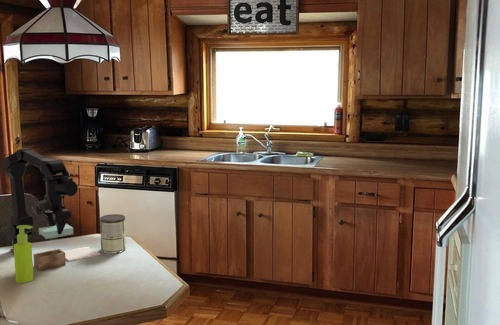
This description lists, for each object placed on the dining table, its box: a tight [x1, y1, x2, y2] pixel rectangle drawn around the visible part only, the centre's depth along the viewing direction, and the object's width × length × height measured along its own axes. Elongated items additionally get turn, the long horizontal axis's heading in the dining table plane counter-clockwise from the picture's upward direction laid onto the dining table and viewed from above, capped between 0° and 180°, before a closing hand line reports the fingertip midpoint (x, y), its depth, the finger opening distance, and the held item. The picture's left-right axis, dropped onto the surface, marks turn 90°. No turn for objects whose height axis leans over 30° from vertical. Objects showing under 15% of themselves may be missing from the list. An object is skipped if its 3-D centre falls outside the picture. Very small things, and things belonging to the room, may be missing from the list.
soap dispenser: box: [13, 225, 34, 284], centre depth 197 cm, size 6×7×20 cm
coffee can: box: [99, 213, 127, 254], centre depth 232 cm, size 10×10×14 cm
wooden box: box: [32, 248, 67, 272], centre depth 213 cm, size 10×6×5 cm, turn 130°
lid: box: [38, 223, 74, 240], centre depth 215 cm, size 11×7×3 cm, turn 129°
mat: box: [62, 246, 101, 263], centre depth 227 cm, size 12×13×1 cm
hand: (56, 232), depth 215 cm, fingers closed on lid, 7 cm apart
